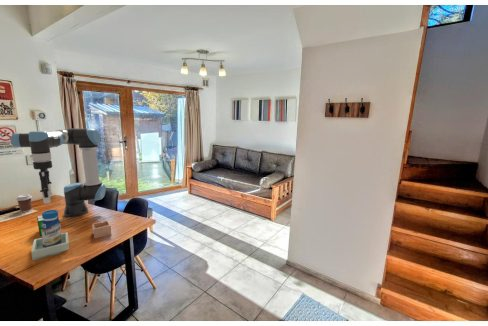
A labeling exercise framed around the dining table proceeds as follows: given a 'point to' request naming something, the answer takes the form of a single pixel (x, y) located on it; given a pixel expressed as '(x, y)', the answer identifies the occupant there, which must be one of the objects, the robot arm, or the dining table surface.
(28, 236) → the dining table surface
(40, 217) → the puzzle cube
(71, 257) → the dining table surface
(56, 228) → the beverage bottle
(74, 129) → the robot arm
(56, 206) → the dining table surface
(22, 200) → the coffee cup
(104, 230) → the pink box
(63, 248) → the green box
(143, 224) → the dining table surface
